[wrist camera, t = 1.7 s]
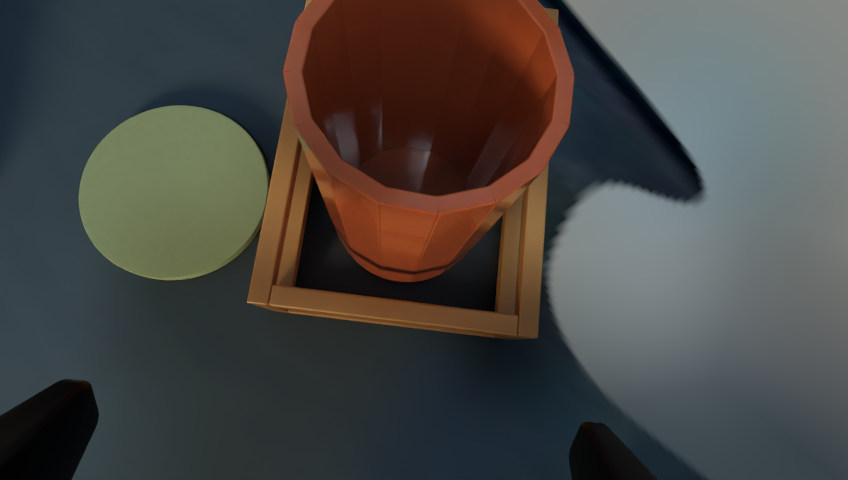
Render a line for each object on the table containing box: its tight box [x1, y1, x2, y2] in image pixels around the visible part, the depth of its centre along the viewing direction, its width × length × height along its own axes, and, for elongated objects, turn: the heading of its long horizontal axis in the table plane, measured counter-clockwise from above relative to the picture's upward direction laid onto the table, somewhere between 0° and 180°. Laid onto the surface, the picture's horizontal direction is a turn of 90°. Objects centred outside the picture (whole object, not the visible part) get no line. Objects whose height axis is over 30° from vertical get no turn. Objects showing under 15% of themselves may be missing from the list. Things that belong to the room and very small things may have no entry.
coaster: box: [79, 105, 270, 280], centre depth 23 cm, size 8×8×1 cm
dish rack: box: [247, 0, 558, 340], centre depth 19 cm, size 14×11×12 cm
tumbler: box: [283, 0, 575, 282], centre depth 18 cm, size 7×7×12 cm
